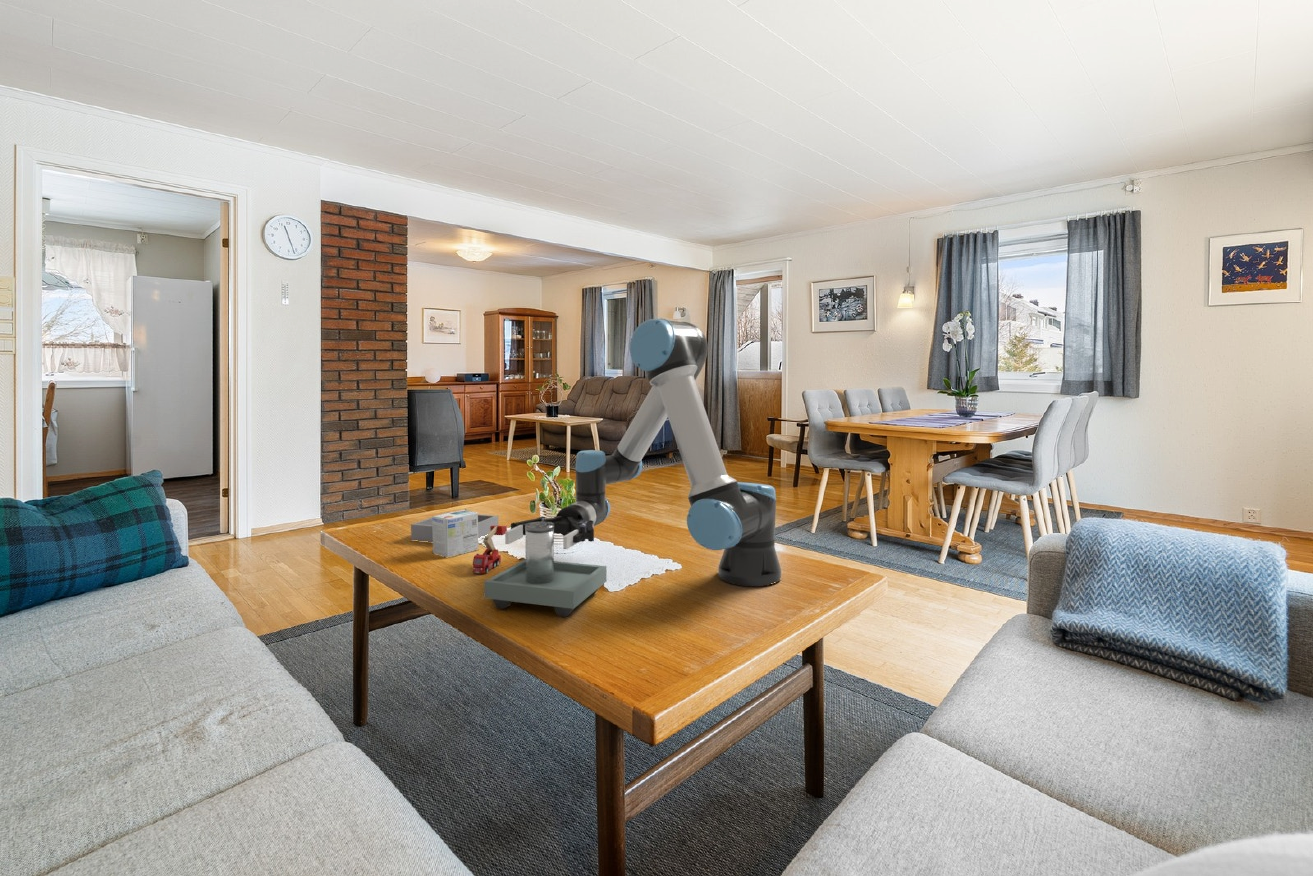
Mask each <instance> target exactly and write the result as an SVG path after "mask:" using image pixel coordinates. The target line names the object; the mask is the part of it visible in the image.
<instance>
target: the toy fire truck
mask: <svg viewBox="0 0 1313 876" xmlns="http://www.w3.org/2000/svg"><path fill="white" fill-rule="evenodd" d="M490 529H491V532H490V533H489V534H488V535H487V536H485V538H483V539H482V543H483V544H484V546H485V547H486V549H485V550H484V551H483V553H482V554H479V553H476V554H475V555H474V556H473V559H472V573H474V574H488V573H489V571H490V570H492V569H495V568H496V567H499V565H500V563H502V562H501V559H502V557H501V554H499V549H498V548H497V549H496V547H495V544H494V542H493V540H492V537H494V536H505V532H506V531H508V525H498V526H490ZM487 572H488V573H487Z"/></svg>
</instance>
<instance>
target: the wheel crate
mask: <svg viewBox="0 0 1313 876" xmlns="http://www.w3.org/2000/svg"><path fill="white" fill-rule="evenodd" d="M451 512H452V511H447V512H444V513H441V514H446V513H451ZM441 514H439V515H441ZM490 526H499V515H490V514H480V513H478V538H480V537H481V536H485V535H487V534H489V533H490V532H491V529H490ZM410 534H411V535H410V541H411V540H418V541H428V542H433V531H432V516H431V517H428V518H425V519H422V520H420V521H417V522H414V523H411V524H410Z"/></svg>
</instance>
